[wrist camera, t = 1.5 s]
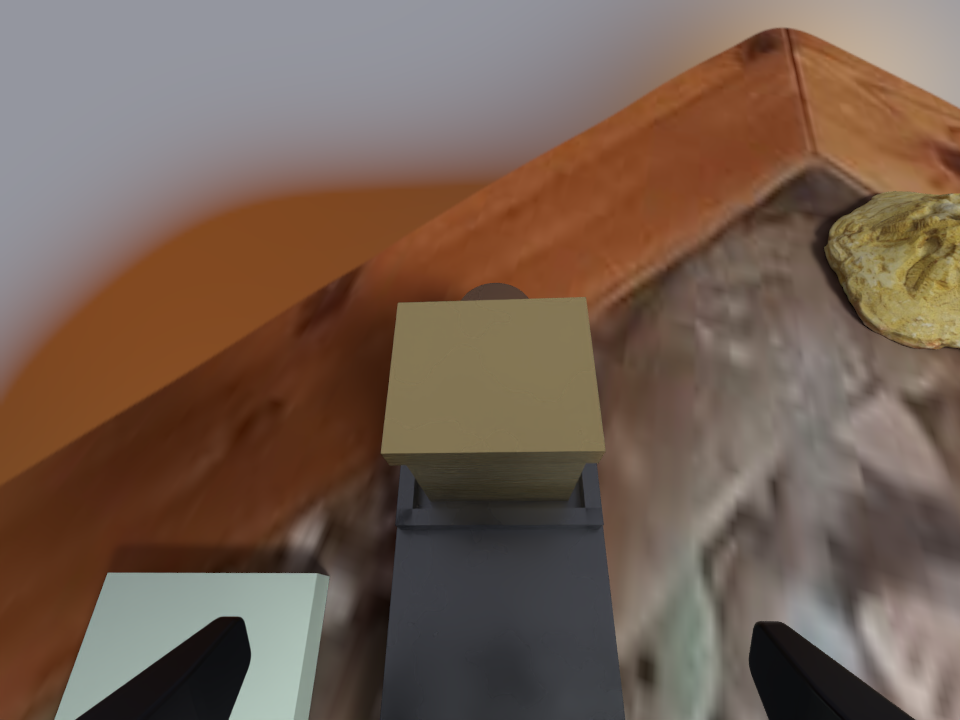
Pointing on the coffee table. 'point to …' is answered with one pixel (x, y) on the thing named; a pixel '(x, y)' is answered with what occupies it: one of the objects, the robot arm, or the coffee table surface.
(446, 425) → the lever cap
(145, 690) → the robot arm
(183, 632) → the sage mat
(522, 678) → the plane body
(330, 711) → the coffee table surface
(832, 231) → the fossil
